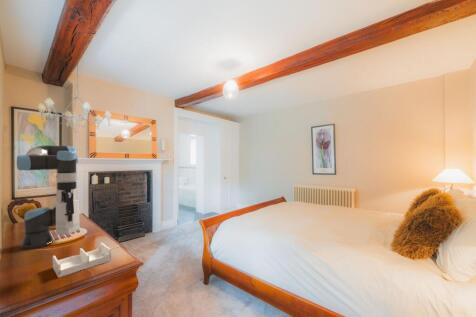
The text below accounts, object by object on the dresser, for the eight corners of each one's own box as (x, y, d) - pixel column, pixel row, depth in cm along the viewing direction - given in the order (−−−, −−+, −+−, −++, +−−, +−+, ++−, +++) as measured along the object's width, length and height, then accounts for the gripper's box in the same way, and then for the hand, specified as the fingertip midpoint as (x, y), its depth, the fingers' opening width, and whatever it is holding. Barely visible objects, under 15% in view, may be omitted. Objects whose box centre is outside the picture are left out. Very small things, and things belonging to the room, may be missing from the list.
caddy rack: (52, 268, 107) (52, 255, 108) (102, 253, 124) (102, 242, 124) (58, 278, 98) (58, 264, 98) (110, 260, 115) (110, 249, 115)
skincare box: (67, 229, 111) (67, 199, 111) (80, 229, 111) (80, 199, 111) (54, 235, 102) (54, 202, 102) (69, 234, 103) (68, 202, 103)
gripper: (53, 180, 111) (53, 223, 111) (61, 183, 96) (61, 232, 96) (71, 179, 117) (71, 219, 117) (81, 182, 102) (81, 228, 102)
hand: (67, 225), depth 107 cm, fingers closed on skincare box, 10 cm apart
